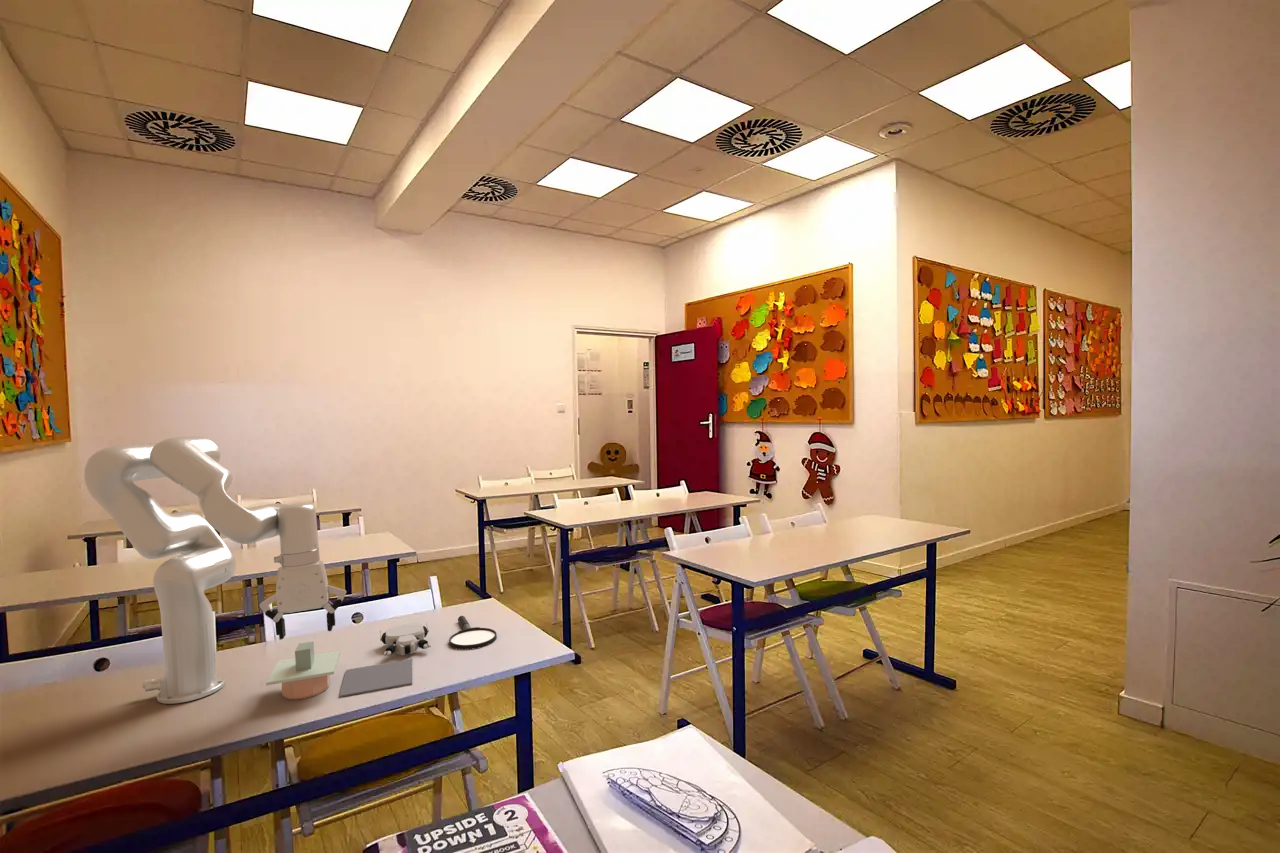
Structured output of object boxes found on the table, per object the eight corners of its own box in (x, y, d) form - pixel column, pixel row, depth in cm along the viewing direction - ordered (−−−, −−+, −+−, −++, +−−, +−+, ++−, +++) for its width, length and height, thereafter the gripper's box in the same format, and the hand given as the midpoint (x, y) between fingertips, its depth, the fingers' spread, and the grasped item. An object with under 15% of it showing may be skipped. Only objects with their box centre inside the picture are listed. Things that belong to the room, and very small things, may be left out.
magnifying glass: (482, 618, 185) (482, 611, 185) (501, 646, 163) (501, 638, 163) (439, 626, 179) (439, 619, 179) (453, 656, 158) (453, 647, 158)
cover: (266, 685, 130) (265, 661, 130) (278, 662, 142) (277, 641, 142) (333, 674, 135) (332, 651, 135) (340, 653, 147) (339, 632, 147)
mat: (339, 697, 134) (339, 695, 134) (346, 671, 148) (346, 669, 148) (412, 684, 140) (412, 682, 140) (412, 660, 154) (412, 658, 154)
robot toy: (433, 657, 158) (427, 634, 171) (432, 640, 157) (426, 619, 171) (382, 666, 153) (380, 643, 166) (381, 649, 152) (379, 627, 166)
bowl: (279, 702, 133) (278, 680, 133) (287, 685, 141) (286, 664, 141) (326, 694, 136) (325, 672, 136) (331, 678, 144) (330, 657, 144)
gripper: (252, 568, 131) (258, 646, 132) (341, 556, 137) (347, 631, 138) (260, 561, 138) (266, 635, 139) (344, 550, 145) (350, 621, 145)
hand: (306, 633), depth 138 cm, fingers open, 9 cm apart
